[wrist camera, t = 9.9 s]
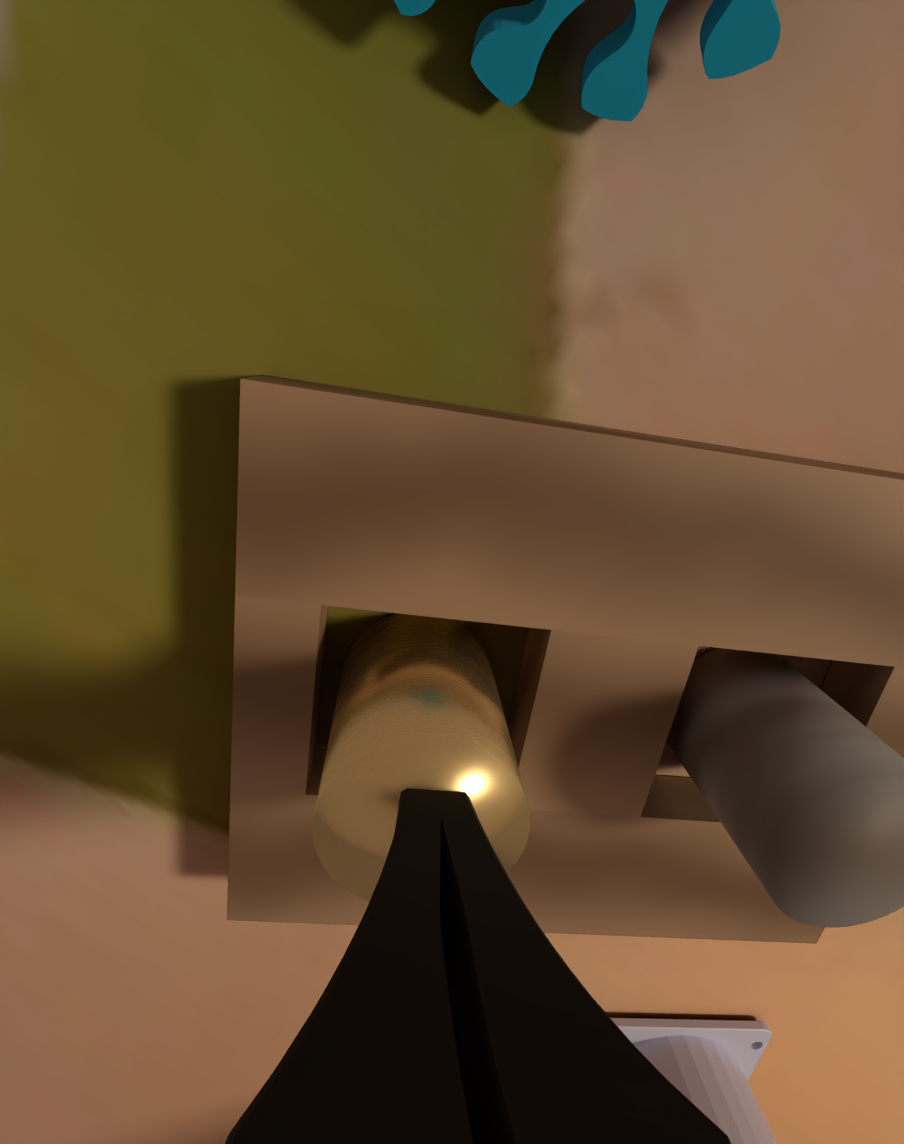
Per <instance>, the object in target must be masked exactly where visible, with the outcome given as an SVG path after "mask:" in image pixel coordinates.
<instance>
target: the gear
mask: <svg viewBox="0 0 904 1144" xmlns="http://www.w3.org/2000/svg"><path fill="white" fill-rule="evenodd" d="M394 1H395V3H396V5H397V7H398V9H399V11H400V14H402V15H407V16H414V15H419V14H421V13H423V12H425V11H427V10H428V9H429V8H430V7H431V6H432V5H433V3H434V2H435V0H394ZM584 1H585V0H534V1H533V2H531V3H529V4H526V5H523V6H514V7H506V8H501V9H497V10H495V11H493V12H491V13H490V14H489V15H488V16H487V17H485V18H484V20H483V21H482V22H481V24H480V25H479V27H478V30H477V32H476V35H475V40H474V45H473V51H472V58H471V66H472V68H473V69H474V71H475V73H476V75H477V77H478V78H479V79H480V81H481V82H482V83H483V84H484V86H485V87H486V88H487V89H488V90H489V91H490V92H491V93H492V94H493V95H494V96H496V97H497V98H498V99H499V100H501V101H502V102H503V103H505V104H506V105H507V106H508V107H510V106H512V105H514V104H517V103H518V102H519V101H520V100H522V99H523V98H524V97H525V95H526V94H527V93H528V91H529V90H530V88H531V85H532V83H533V80H534V76H535V72H536V68H537V65H538V62H539V60H540V57H541V55H542V53H543V50H544V48H545V46H546V45H547V43H548V41H549V39H550V38H551V36H552V34H553V33H554V32H555V30H556V29H557V28H558V26H559V25H560V24H561V23H562V21H563V20H564V19H565V18H566V17H567V16H568V15H569V14H570V13H571V12H572V11H573V10H574V9H575V8H576V7H578V6H579V5H580V4H581V3H582V2H584ZM667 2H668V0H634V2H633V6H632V9H631V11H630V13H629V15H628V17H627V18H626V20H625V21H624V22H623V23H622V24H621V25H620V26H619V27H618V28H617V29H616V30H614V31H613V32H612V33H610V34H609V35H608V36H606V37H605V38H604V39H603V40H601V41H600V42H599V43H598V44H597V45H596V46H595V47H594V48H593V49H592V50H591V52H590V53H589V55H588V57H587V59H586V61H585V63H584V66H583V70H582V81H581V102H582V108H583V109H585V110H586V111H588V112H589V113H591V114H593V115H595V116H598V117H601V118H605V119H611V120H619V121H632V120H633V119H634V118H635V117H636V116H637V115H638V113H639V112H640V110H641V108H642V107H643V105H644V102H645V99H646V97H647V90H648V79H647V66H648V56H649V50H650V46H651V42H652V37H653V34H654V31H655V28H656V26H657V23H658V20H659V18H660V15H661V13H662V11H663V10H664V8H665V6H666V4H667ZM779 37H780V22H779V17H778V13H777V10H776V6H775V2H774V0H714V1H713V3H712V4H711V6H710V7H709V9H708V11H707V13H706V15H705V17H704V20H703V23H702V26H701V31H700V46H701V52H702V59H703V65H704V69H705V73H706V75H707V77H708V79H716V78H724V77H729V76H733V75H736V74H739V73H741V72H744V71H746V70H749V69H751V68H753V67H755V66H757V65H759V64H761V63H763V62H766V61H768V60H770V59H771V58H772V56H773V54H774V52H775V50H776V47H777V44H778V41H779Z"/></svg>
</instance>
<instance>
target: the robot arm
mask: <svg viewBox="0 0 904 1144" xmlns="http://www.w3.org/2000/svg"><path fill="white" fill-rule="evenodd" d="M771 1035H772V1034H771V1031H770V1029H769V1028H768V1026H767V1024H766V1023H765V1022H763V1021H743V1020H696V1019H649V1018H610V1017H609V1016H608V1015H607V1014H606V1013H605V1011H604V1010H603V1009H602V1008H601V1007H600V1006H599V1005H598V1003H597V1002H596V1001H595V1000H594V999H593V998H592V997H591V995H590V994H589V993H588V992H587V990H586V989H585V988H584V986H583V985H582V984H581V983H580V981H579V980H578V979H577V978H576V976H575V975H574V974H573V972H572V971H571V970H570V969H569V967H568V966H567V965H566V963H565V962H564V961H563V959H562V958H561V956H560V955H559V954H558V952H557V951H556V950H555V948H554V947H553V946H552V944H551V943H550V941H549V940H548V938H547V937H546V936H545V934H544V933H543V931H542V930H541V928H540V927H539V925H538V924H537V922H536V921H535V919H534V917H533V916H532V914H531V913H530V911H529V910H528V908H527V906H526V905H525V903H524V902H523V900H522V898H521V897H520V895H519V893H518V892H517V890H516V888H515V887H514V885H513V883H512V882H511V880H510V878H509V876H508V874H507V873H506V871H505V869H504V867H503V865H502V864H501V862H500V860H499V858H498V856H497V855H496V853H495V851H494V849H493V847H492V845H491V843H490V841H489V839H488V837H487V835H486V833H485V831H484V829H483V827H482V825H481V822H480V820H479V818H478V816H477V814H476V811H475V809H474V807H473V805H472V802H471V800H470V797H469V796H468V795H467V794H466V792H456V791H442V790H427V789H413V788H406V789H405V790H403V791H402V792H401V793H400V800H399V806H398V813H397V819H396V826H395V832H394V836H393V840H392V843H391V846H390V849H389V852H388V855H387V858H386V861H385V864H384V867H383V870H382V872H381V875H380V878H379V880H378V882H377V885H376V887H375V890H374V892H373V894H372V897H371V899H370V902H369V904H368V906H367V909H366V911H365V913H364V915H363V917H362V920H361V922H360V924H359V926H358V928H357V930H356V932H355V934H354V936H353V938H352V940H351V942H350V944H349V946H348V948H347V950H346V952H345V954H344V956H343V958H342V960H341V962H340V964H339V965H338V967H337V969H336V971H335V973H334V974H333V976H332V978H331V980H330V982H329V983H328V985H327V987H326V989H325V991H324V992H323V994H322V996H321V998H320V999H319V1001H318V1003H317V1004H316V1006H315V1008H314V1009H313V1011H312V1013H311V1014H310V1016H309V1017H308V1019H307V1021H306V1022H305V1024H304V1025H303V1027H302V1028H301V1030H300V1032H299V1033H298V1035H297V1036H296V1038H295V1039H294V1041H293V1043H292V1044H291V1046H290V1047H289V1049H288V1050H287V1052H286V1054H285V1055H284V1057H283V1058H282V1060H281V1061H280V1063H279V1064H278V1066H277V1067H276V1069H275V1070H274V1072H273V1073H272V1075H271V1076H270V1077H269V1079H268V1080H267V1082H266V1083H265V1084H264V1086H263V1087H262V1089H261V1090H260V1091H259V1093H258V1094H257V1096H256V1097H255V1098H254V1100H253V1101H252V1103H251V1104H250V1105H249V1107H248V1108H247V1110H246V1111H245V1112H244V1114H243V1115H242V1117H241V1118H240V1119H239V1121H238V1122H237V1124H236V1125H235V1126H234V1128H233V1129H232V1131H231V1132H230V1134H229V1135H228V1138H227V1140H226V1143H225V1144H777V1143H776V1141H775V1138H774V1136H773V1134H772V1132H771V1130H770V1128H769V1126H768V1123H767V1121H766V1119H765V1117H764V1115H763V1113H762V1111H761V1109H760V1106H759V1104H758V1102H757V1100H756V1098H755V1096H754V1094H753V1091H752V1089H751V1087H750V1085H749V1083H748V1080H749V1078H750V1076H751V1074H752V1072H753V1070H754V1068H755V1067H756V1065H757V1063H758V1061H759V1059H760V1057H761V1055H762V1053H763V1051H764V1050H765V1048H766V1046H767V1044H768V1042H769V1040H770V1038H771Z"/></svg>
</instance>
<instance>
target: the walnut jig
mask: <svg viewBox="0 0 904 1144" xmlns="http://www.w3.org/2000/svg"><path fill="white" fill-rule="evenodd" d="M328 606H334V607H343V608H352V609H362V610H371V611H380V612H390V613H399V614H408V615H418V616H427V617H436V618H445V619H455V620H464V621H473V622H483V623H492V624H501V625H511V626H520V627H529V630H528V634H527V639H526V643H525V648H524V652H523V657H522V661H521V666H520V670H519V675H518V679H517V684H516V688H515V693H514V697H513V702H512V706H511V711H510V715H509V720H508V724H507V727H508V731H509V734H510V738H511V742H512V746H513V749H514V753H515V757H516V761H517V764H518V768H519V772H520V776H521V779H522V783H523V787H524V790H525V794H526V798H527V802H528V805H529V811H530V832H529V836H528V841H527V843H526V846H525V848H524V851H523V853H522V855H521V856H520V858H519V860H518V861H517V863H516V864H515V865H514V867H513V868H512V869H511V870H510V871H509V873H508V876H509V878H510V880H511V882H512V883H513V885H514V887H515V888H516V890H517V892H518V893H519V895H520V897H521V898H522V900H523V902H524V903H525V905H526V906H527V908H528V910H529V911H530V913H531V914H532V916H533V917H534V919H535V921H536V922H537V924H538V925H539V927H540V928H541V930H542V931H543V933H564V934H589V935H614V936H639V937H664V938H689V939H714V940H739V941H764V942H789V943H814V944H816V943H817V942H818V940H819V938H820V936H821V934H822V932H823V930H824V928H825V927H846V926H853V925H858V924H862V923H866V922H869V921H873V920H876V919H878V918H881V917H884V916H886V915H888V914H890V913H892V912H895V911H897V910H898V909H900V908H902V907H904V474H902V473H896V472H889V471H883V470H876V469H870V468H863V467H857V466H850V465H844V464H837V463H831V462H824V461H818V460H811V459H805V458H798V457H792V456H785V455H779V454H773V453H766V452H760V451H753V450H747V449H740V448H734V447H727V446H721V445H714V444H708V443H701V442H695V441H688V440H682V439H675V438H669V437H662V436H656V435H649V434H643V433H636V432H630V431H624V430H617V429H611V428H604V427H598V426H591V425H585V424H578V423H572V422H565V421H559V420H552V419H546V418H539V417H533V416H526V415H520V414H513V413H507V412H500V411H494V410H487V409H481V408H474V407H468V406H462V405H455V404H449V403H442V402H436V401H429V400H423V399H416V398H410V397H403V396H397V395H390V394H384V393H377V392H371V391H364V390H358V389H351V388H345V387H338V386H332V385H325V384H319V383H312V382H306V381H300V380H293V379H287V378H280V377H274V376H267V375H258V376H253V377H247V378H242V379H240V416H239V456H238V497H237V537H236V578H235V618H234V659H233V699H232V740H231V780H230V821H229V861H228V902H227V920H237V921H263V922H288V923H313V924H338V925H359V924H360V922H361V920H362V917H363V915H364V913H365V911H366V909H367V906H368V904H369V902H368V901H366V900H364V899H361V898H359V897H357V896H355V895H354V894H352V893H350V892H349V891H347V890H345V889H344V888H343V887H342V886H340V885H339V884H338V883H337V882H336V881H335V880H334V879H333V878H332V877H331V876H330V875H329V874H328V873H327V871H326V870H325V868H324V867H323V866H322V864H321V862H320V860H319V858H318V856H317V853H316V850H315V847H314V843H313V835H312V827H313V818H314V813H315V808H316V803H317V798H318V793H319V787H320V782H321V777H322V772H323V767H324V762H325V757H326V752H327V750H323V749H316V739H317V727H318V716H319V704H320V693H321V681H322V670H323V658H324V646H325V635H326V623H327V612H328ZM699 646H706V647H715V648H716V649H713V650H711V651H708V652H706V653H704V654H702V655H700V656H699V657H697V658H695V656H696V653H697V650H698V647H699ZM777 654H781V655H790V656H799V657H809V658H818V659H827V660H833V662H832V664H831V666H830V668H829V671H828V673H827V675H826V678H825V680H824V682H823V684H822V687H821V689H819V688H818V687H817V686H815V685H814V684H813V683H812V682H811V681H809V680H808V679H807V678H806V677H805V676H803V675H802V674H801V673H800V672H798V671H797V670H796V669H795V668H794V667H792V666H791V665H790V664H789V663H788V662H786V661H785V660H784V659H783V658H781V657H780V656H779V655H777ZM666 741H667V742H668V744H669V745H670V747H671V748H672V750H673V751H674V753H675V754H676V756H677V757H678V759H679V760H680V762H681V763H682V765H683V766H684V768H685V769H686V771H687V772H688V774H689V775H690V777H691V778H688V777H675V776H662V775H655V773H656V770H657V767H658V764H659V761H660V758H661V756H662V753H663V750H664V747H665V744H666Z"/></svg>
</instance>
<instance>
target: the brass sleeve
mask: <svg viewBox="0 0 904 1144" xmlns="http://www.w3.org/2000/svg"><path fill="white" fill-rule="evenodd" d="M406 788H413V789H427V790H442V791H456V792H466V794H467V795H468V796H469V797H470V800H471V802H472V805H473V807H474V809H475V811H476V814H477V816H478V818H479V820H480V822H481V825H482V827H483V829H484V831H485V833H486V835H487V837H488V839H489V841H490V843H491V845H492V847H493V849H494V851H495V853H496V855H497V856H498V858H499V860H500V862H501V864H502V865H503V867H504V869H505V871H506V873H507V874H508V873H509V871H510V870H511V869H512V868H513V867H514V865H515V864H516V863H517V861H518V860H519V858H520V856H521V855H522V853H523V851H524V848H525V846H526V843H527V841H528V836H529V832H530V811H529V805H528V802H527V798H526V794H525V790H524V787H523V783H522V779H521V776H520V772H519V768H518V764H517V761H516V757H515V753H514V749H513V746H512V742H511V738H510V734H509V731H508V727H507V723H506V720H505V716H504V712H503V708H502V705H501V701H500V697H499V693H498V690H497V686H496V682H495V678H494V675H493V671H492V667H491V664H490V660H489V656H488V653H487V651H486V649H485V647H484V645H483V643H482V642H481V640H480V639H479V637H478V636H477V635H476V634H475V633H474V632H473V631H472V630H471V629H470V628H469V627H467V626H466V625H465V624H463V623H462V622H460V621H459V620H455V619H445V618H436V617H427V616H418V615H408V614H399V613H395V614H392V615H389V616H386V617H384V618H382V619H380V620H378V621H376V622H375V623H373V624H371V625H370V626H369V627H368V628H366V629H365V630H364V631H363V632H362V633H361V634H360V635H359V636H358V637H357V638H356V640H355V641H354V642H353V644H352V645H351V647H350V649H349V651H348V653H347V655H346V658H345V661H344V666H343V671H342V676H341V681H340V686H339V691H338V696H337V701H336V706H335V711H334V716H333V722H332V727H331V732H330V737H329V742H328V747H327V752H326V757H325V762H324V767H323V772H322V777H321V782H320V787H319V793H318V798H317V803H316V808H315V813H314V818H313V827H312V835H313V843H314V847H315V850H316V853H317V856H318V858H319V860H320V862H321V864H322V866H323V867H324V868H325V870H326V871H327V873H328V874H329V875H330V876H331V877H332V878H333V879H334V880H335V881H336V882H337V883H338V884H339V885H340V886H342V887H343V888H344V889H345V890H347V891H349V892H350V893H352V894H354V895H355V896H357V897H359V898H361V899H364V900H366V901H368V902H370V899H371V897H372V894H373V892H374V890H375V887H376V885H377V882H378V880H379V878H380V875H381V872H382V870H383V867H384V864H385V861H386V858H387V855H388V852H389V849H390V846H391V843H392V840H393V836H394V832H395V826H396V819H397V813H398V806H399V800H400V793H401V792H402V791H403V790H405V789H406Z"/></svg>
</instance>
